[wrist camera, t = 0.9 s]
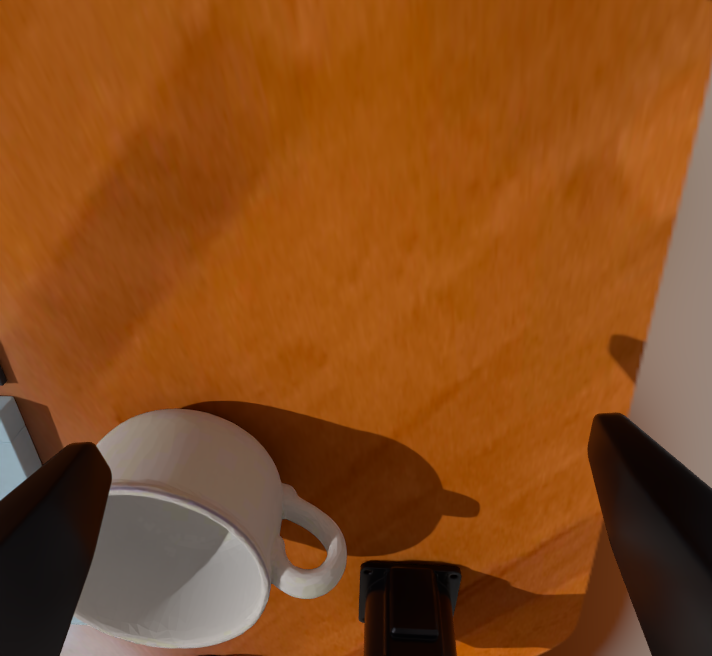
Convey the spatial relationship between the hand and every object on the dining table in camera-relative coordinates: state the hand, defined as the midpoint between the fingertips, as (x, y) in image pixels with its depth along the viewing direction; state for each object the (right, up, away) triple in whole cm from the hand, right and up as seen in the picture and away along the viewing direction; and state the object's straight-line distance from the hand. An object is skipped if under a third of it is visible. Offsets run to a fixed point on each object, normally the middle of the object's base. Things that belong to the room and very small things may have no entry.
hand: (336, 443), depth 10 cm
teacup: (-7, -5, +21) cm, 23 cm away
